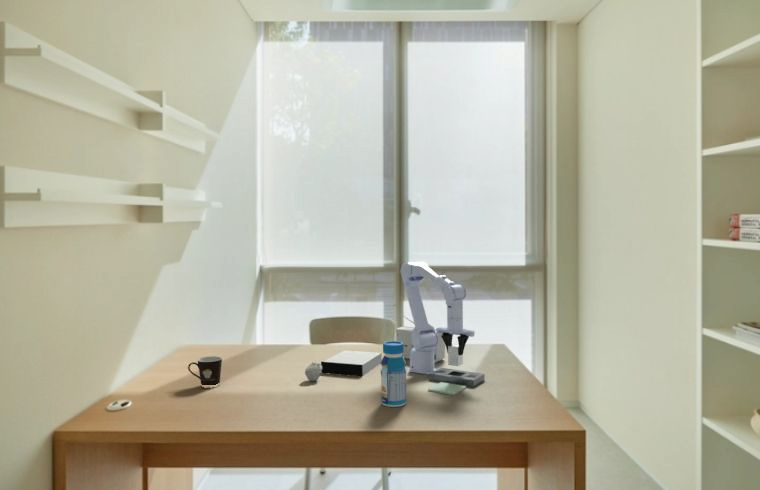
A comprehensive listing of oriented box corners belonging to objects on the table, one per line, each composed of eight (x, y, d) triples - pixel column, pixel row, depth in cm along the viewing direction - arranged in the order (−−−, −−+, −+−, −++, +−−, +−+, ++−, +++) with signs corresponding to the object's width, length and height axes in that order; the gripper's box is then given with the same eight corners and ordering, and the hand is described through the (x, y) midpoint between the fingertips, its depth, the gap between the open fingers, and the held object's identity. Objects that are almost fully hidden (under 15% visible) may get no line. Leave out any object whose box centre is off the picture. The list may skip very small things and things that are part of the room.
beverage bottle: (398, 409, 177) (397, 346, 177) (376, 405, 182) (375, 344, 181) (411, 402, 184) (410, 341, 184) (389, 398, 189) (388, 339, 188)
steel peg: (448, 365, 207) (448, 346, 206) (452, 362, 210) (452, 344, 210) (458, 366, 204) (458, 347, 204) (462, 363, 208) (462, 345, 208)
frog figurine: (325, 380, 211) (325, 362, 211) (311, 384, 206) (311, 365, 206) (315, 377, 216) (315, 359, 215) (301, 381, 210) (300, 362, 210)
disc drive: (320, 374, 222) (320, 361, 222) (344, 360, 243) (344, 349, 243) (361, 378, 216) (361, 365, 215) (382, 364, 237) (382, 352, 236)
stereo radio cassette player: (445, 360, 241) (445, 313, 240) (437, 364, 234) (436, 316, 233) (403, 354, 252) (403, 310, 251) (394, 358, 245) (393, 312, 244)
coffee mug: (227, 384, 208) (226, 357, 208) (211, 390, 200) (210, 362, 200) (203, 380, 213) (202, 354, 212) (186, 386, 205) (186, 359, 205)
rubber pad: (428, 390, 197) (428, 389, 197) (441, 383, 205) (441, 382, 205) (453, 395, 191) (453, 393, 191) (466, 387, 199) (466, 386, 199)
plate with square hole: (429, 380, 210) (429, 373, 210) (441, 373, 218) (441, 367, 218) (473, 387, 200) (473, 380, 200) (484, 380, 208) (484, 373, 208)
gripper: (432, 317, 207) (432, 353, 208) (468, 320, 199) (469, 358, 200) (441, 314, 213) (441, 350, 213) (476, 317, 205) (476, 354, 206)
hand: (455, 354), depth 207 cm, fingers closed on steel peg, 4 cm apart
